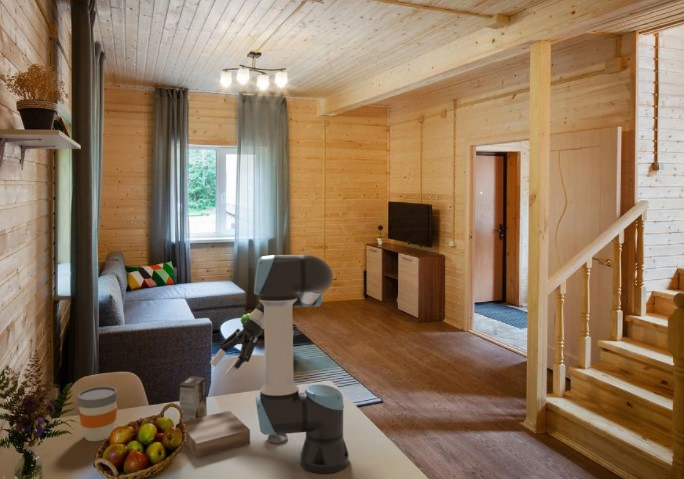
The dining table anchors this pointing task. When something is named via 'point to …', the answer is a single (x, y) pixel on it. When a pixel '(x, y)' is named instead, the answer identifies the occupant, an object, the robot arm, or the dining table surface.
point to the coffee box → (193, 398)
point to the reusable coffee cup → (97, 412)
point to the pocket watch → (277, 438)
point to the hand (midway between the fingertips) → (220, 369)
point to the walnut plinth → (215, 434)
